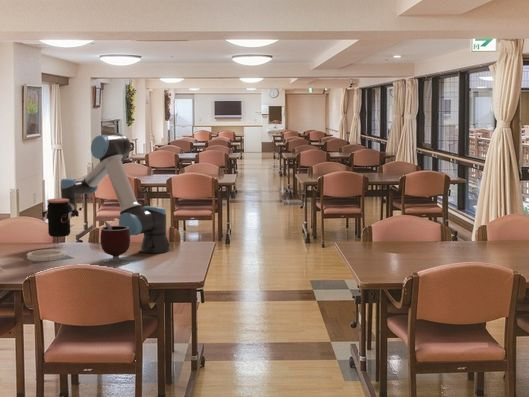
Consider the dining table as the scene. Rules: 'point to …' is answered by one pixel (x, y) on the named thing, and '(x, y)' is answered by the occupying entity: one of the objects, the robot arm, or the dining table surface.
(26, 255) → the mat
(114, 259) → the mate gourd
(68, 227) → the coffee jar
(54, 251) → the dish
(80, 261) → the dining table surface
